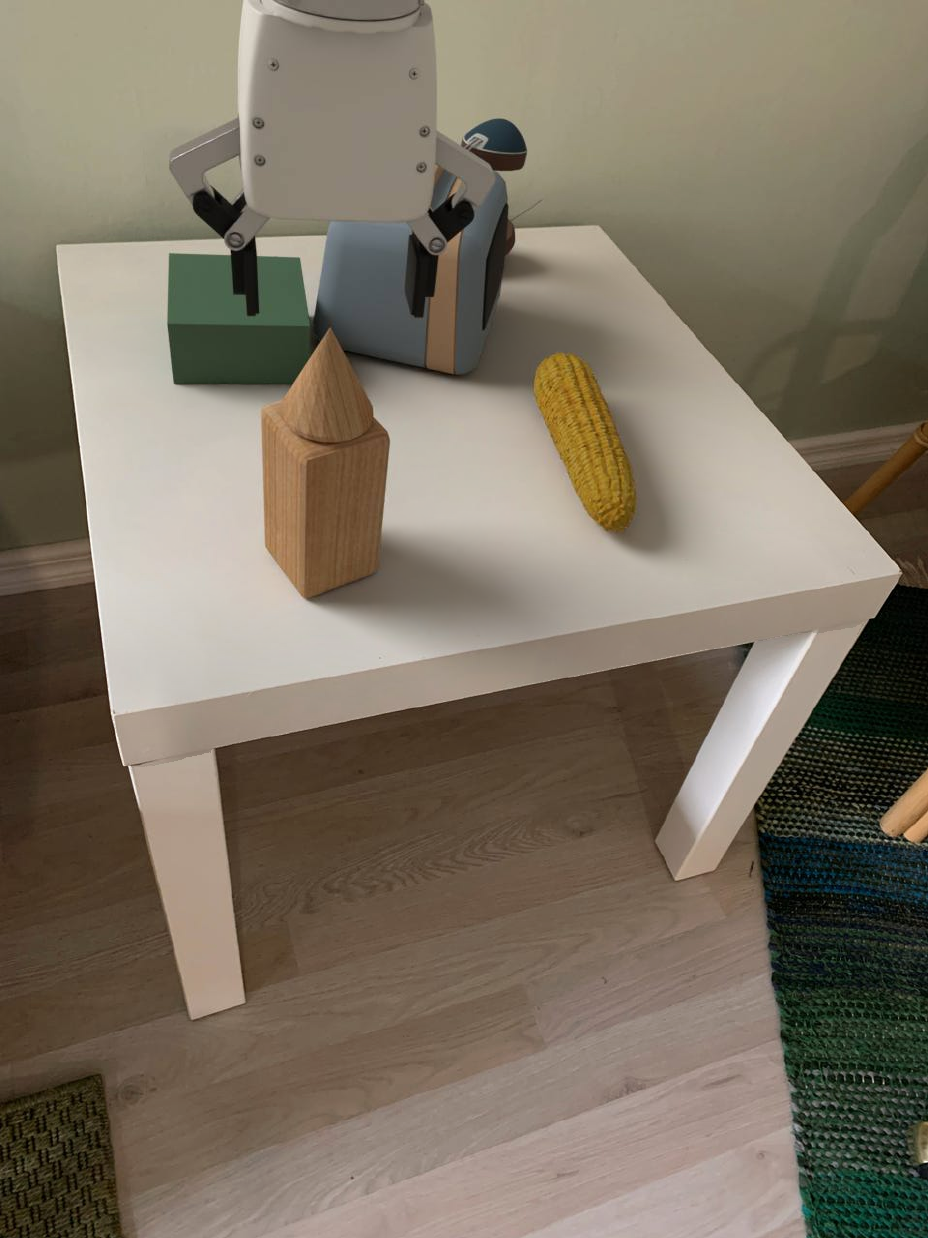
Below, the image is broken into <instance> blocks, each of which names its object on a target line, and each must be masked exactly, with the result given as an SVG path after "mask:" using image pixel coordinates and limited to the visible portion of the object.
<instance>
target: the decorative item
mask: <svg viewBox="0 0 928 1238" xmlns="http://www.w3.org/2000/svg"><path fill="white" fill-rule="evenodd" d="M260 424H261V425H260V427H261V453H262V454H261V457H262V459H261V462H262V494H263V495H262V496H263V520H264V521H263V524H264V525H263V528H264V529H263V530H264V532H263V533H264V547H265V548H266V550H267V552H268V553H269V555H270V556H271V557H272V558H273V559H274V561H275V562H276V564H277V565H278V566H279V569H281V570H282V571H283V573H284V574H285V576H286V577H287V579H288V580H289V581H290V583H291V584H292V585H293V587H294V588H295V589H296V591H297V592H298V593H299V595H300V596H301V597H303V598H304V599H311V598H313V597H316V596H318V595H321V594H324V593H326V592H329V591H331V590H334V589H337V588H339V587H342V586H344V585H348V584H350V583H353V582H355V581H358V580H361V579H363V578H365V577H368V576H371V575H374V574H375V572H377V570H378V569H379V565H380V564H379V563H380V554H381V553H380V552H381V541H382V530H383V520H384V510H385V498H386V491H387V490H386V488H387V479H388V467H389V455H390V447H391V446H390V445H391V438H390V435H389V433H388V430H387V429H386V428H385V427H384V426H383V425H382V424H381V423H380V422H379V421H378V419H376V418H375V414H374V406H373V404H372V402H371V400H370V398H369V397H368V395H367V393H366V391H365V389H364V387H363V385H362V383H361V382H360V380H359V378H358V376H357V374H356V372H355V370H354V368H353V367H352V365H351V363H350V361H349V359H348V357H347V356H346V353H345V352H344V350H342V348H341V346H340V344H339V342H338V340H337V338H336V337H335V335H334V333H333V331H332V329H331V327H330V328H329V330H328V331H327V333H326V334H325V336H324V337H323V339H322V340H321V342H320V341H319V343H318V345H317V347H316V348H315V349H314V351H313V352H312V354H311V355H310V359H309V360H308V362H307V363H306V365H305V366H304V368H303V369H302V371H301V373H300V374H299V376H298V377H297V379H296V380H295V382H294V383H293V384H291V387H290V388H289V389H288V391H287V392H286V394H285V395H284V397H283V399H282V400H279V401H274V402H271V403H267V404H266V405H264V406H262V408H261V410H260Z"/></svg>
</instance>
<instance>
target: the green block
mask: <svg viewBox="0 0 928 1238" xmlns="http://www.w3.org/2000/svg"><path fill="white" fill-rule="evenodd" d="M257 268H258V292H259V314H256V316H247V309H246V296H245V295H233V282H232V266H231V254H207V253H206V254H205V253H178V252H177V253H176V252H175V253H174V252H169V253H168V274H167V275H168V276H167V311H166V313H167V315H166V318H167V319H166V324H167V325H166V327H167V335H168V345H169V353H170V354H169V355H170V361H171V372H172V380H173V381H172V382H173V384H179V385H180V384H188V385H189V384H191V385H193V384H197V385H198V384H200V385H201V384H203V385H206V384H208V385H209V384H210V385H211V384H213V385H217V384H219V385H220V384H221V385H223V384H224V385H225V384H230V385H245V384H246V385H262V384H264V385H293V383H294V382H295V380H296V379H297V377H298V376H299V374H300V373H301V371H302V369H303V368H304V366H305V365H306V363H307V362H308V360H309V359H310V357H311V322H310V321H311V319H310V315H309V309H308V308H309V307H308V301H307V296H306V295H307V294H306V289H305V283H304V282H305V281H304V276H303V275H304V274H303V268H302V261H301V257H299V256H297V257H295V256H271V255H270V256H269V255H267V256H266V255H265V256H264V255H257Z"/></svg>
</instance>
